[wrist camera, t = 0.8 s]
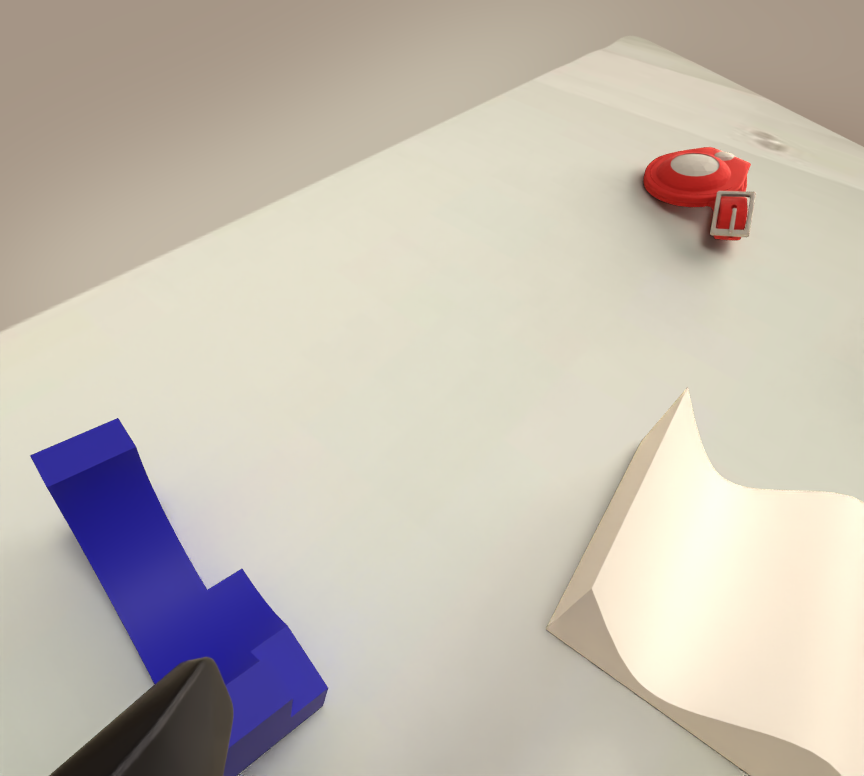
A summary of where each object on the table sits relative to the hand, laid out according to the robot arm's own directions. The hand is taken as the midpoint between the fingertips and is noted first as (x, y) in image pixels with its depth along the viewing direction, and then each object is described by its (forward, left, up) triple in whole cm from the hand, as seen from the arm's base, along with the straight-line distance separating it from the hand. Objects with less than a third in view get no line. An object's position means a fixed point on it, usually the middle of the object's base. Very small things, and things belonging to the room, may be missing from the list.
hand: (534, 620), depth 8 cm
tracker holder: (+48, -12, -19) cm, 53 cm away
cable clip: (+3, +9, -19) cm, 21 cm away
